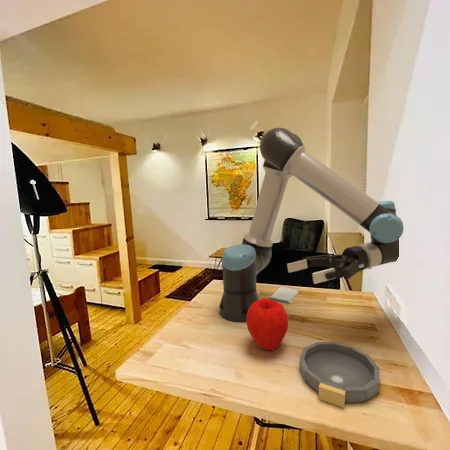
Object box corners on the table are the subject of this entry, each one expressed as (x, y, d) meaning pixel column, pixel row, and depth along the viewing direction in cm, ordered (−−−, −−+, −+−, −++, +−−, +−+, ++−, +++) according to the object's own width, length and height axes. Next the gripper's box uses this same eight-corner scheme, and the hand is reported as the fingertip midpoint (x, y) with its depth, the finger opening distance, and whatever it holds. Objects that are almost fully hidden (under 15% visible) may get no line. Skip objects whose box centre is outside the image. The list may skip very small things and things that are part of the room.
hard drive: (289, 301, 101) (299, 289, 112) (268, 297, 106) (280, 286, 116) (289, 305, 101) (299, 293, 112) (269, 301, 106) (280, 289, 116)
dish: (290, 389, 60) (290, 377, 59) (309, 345, 75) (309, 335, 75) (378, 420, 51) (379, 406, 51) (379, 364, 67) (379, 353, 66)
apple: (241, 337, 80) (240, 295, 78) (277, 331, 83) (277, 290, 81) (254, 363, 69) (253, 314, 67) (296, 355, 72) (296, 307, 69)
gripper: (397, 278, 71) (329, 299, 65) (335, 262, 95) (281, 275, 89) (394, 251, 70) (325, 269, 65) (332, 241, 94) (278, 253, 89)
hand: (299, 273), depth 77 cm, fingers open, 13 cm apart
